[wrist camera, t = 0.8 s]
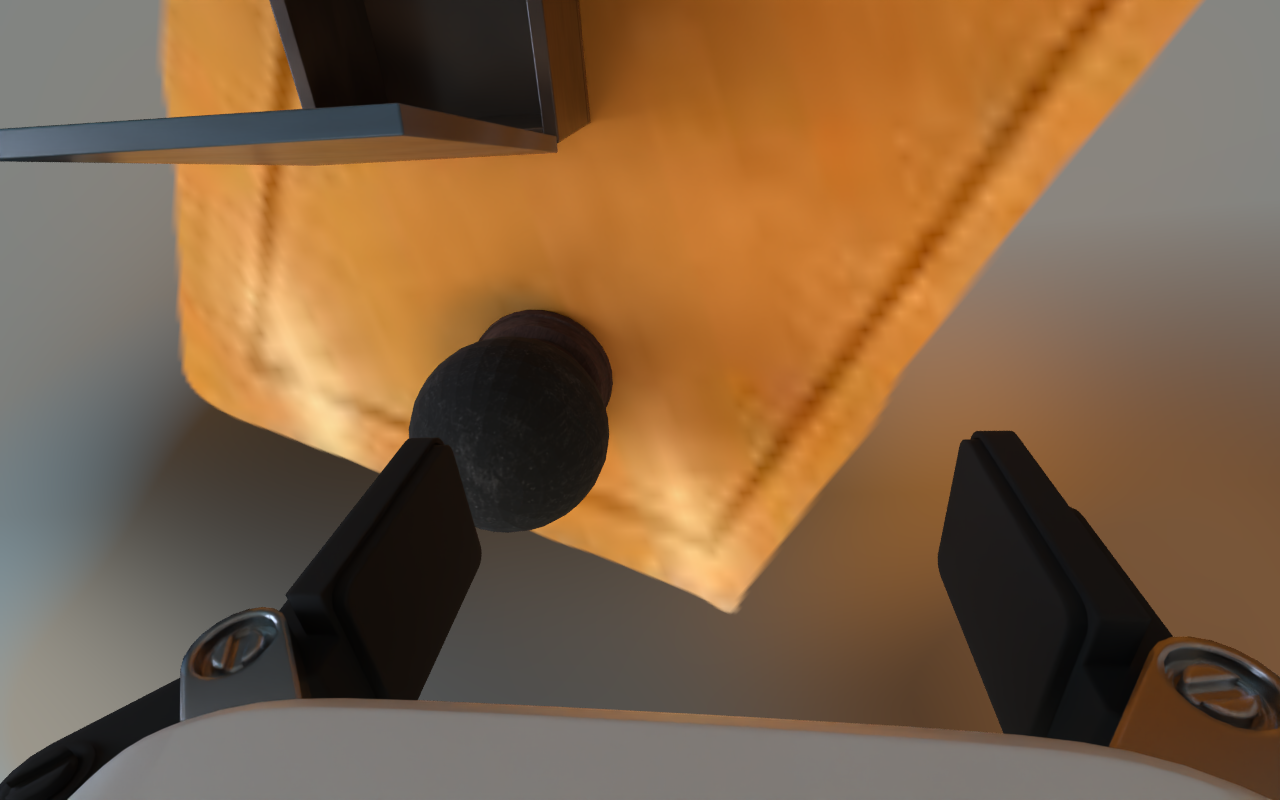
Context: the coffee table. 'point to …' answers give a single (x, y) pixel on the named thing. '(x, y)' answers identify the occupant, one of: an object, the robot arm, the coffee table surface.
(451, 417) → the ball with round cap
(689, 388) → the coffee table surface
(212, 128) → the blue-grey square panel
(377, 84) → the brown box
